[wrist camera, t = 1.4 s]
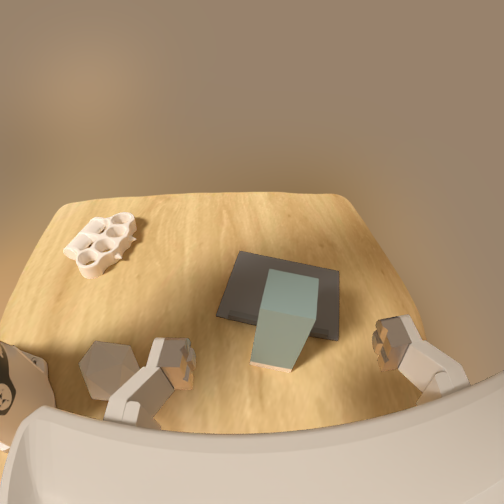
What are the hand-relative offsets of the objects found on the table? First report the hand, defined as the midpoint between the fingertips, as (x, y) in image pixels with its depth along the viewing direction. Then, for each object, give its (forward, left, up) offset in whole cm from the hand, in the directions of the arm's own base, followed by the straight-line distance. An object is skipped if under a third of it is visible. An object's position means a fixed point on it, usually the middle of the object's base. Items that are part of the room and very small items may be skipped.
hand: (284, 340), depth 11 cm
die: (-19, +2, -28) cm, 34 cm away
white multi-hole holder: (-37, +27, -28) cm, 54 cm away
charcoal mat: (+1, +26, -27) cm, 38 cm away
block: (+1, +14, -27) cm, 31 cm away
